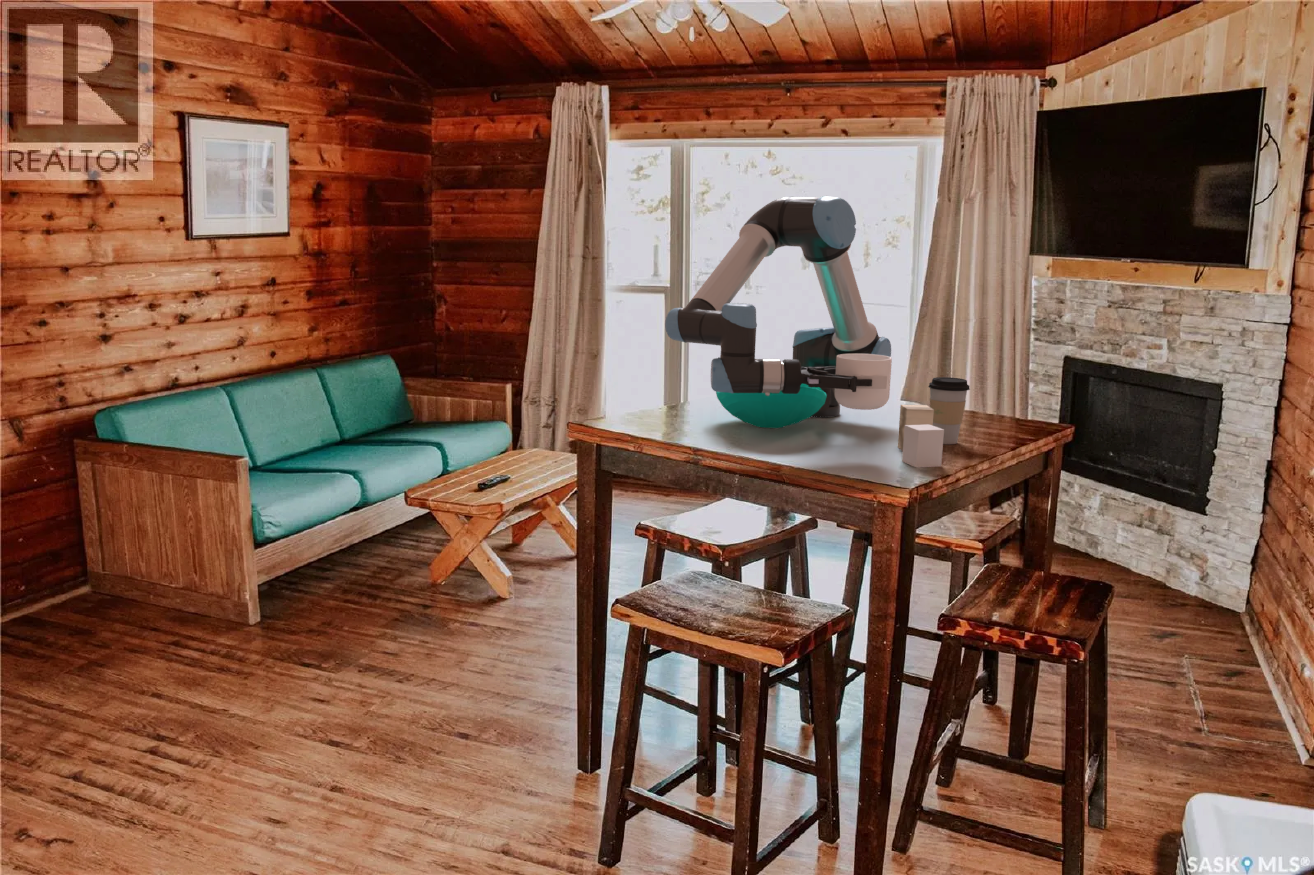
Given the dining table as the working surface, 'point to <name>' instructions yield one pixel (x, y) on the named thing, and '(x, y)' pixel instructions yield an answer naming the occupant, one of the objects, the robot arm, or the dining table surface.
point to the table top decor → (773, 406)
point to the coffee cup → (948, 405)
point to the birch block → (913, 418)
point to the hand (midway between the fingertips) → (879, 377)
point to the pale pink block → (923, 445)
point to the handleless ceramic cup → (866, 367)
